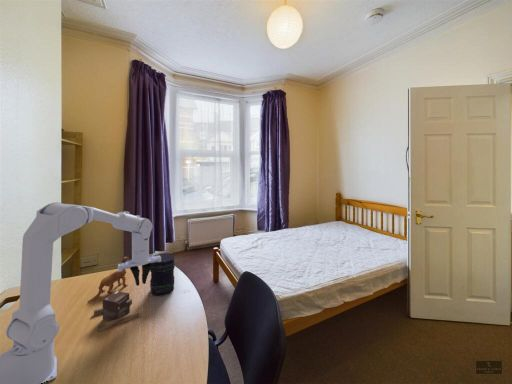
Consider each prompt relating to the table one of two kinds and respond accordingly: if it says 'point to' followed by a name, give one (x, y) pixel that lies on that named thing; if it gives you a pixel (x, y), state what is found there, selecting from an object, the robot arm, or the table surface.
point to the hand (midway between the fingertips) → (140, 283)
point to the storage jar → (162, 275)
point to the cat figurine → (113, 279)
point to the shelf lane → (116, 321)
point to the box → (116, 305)
